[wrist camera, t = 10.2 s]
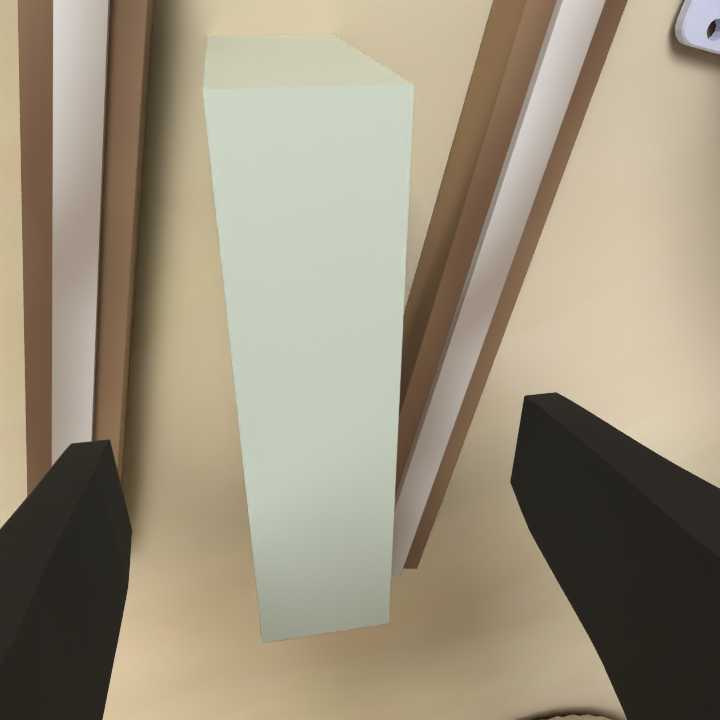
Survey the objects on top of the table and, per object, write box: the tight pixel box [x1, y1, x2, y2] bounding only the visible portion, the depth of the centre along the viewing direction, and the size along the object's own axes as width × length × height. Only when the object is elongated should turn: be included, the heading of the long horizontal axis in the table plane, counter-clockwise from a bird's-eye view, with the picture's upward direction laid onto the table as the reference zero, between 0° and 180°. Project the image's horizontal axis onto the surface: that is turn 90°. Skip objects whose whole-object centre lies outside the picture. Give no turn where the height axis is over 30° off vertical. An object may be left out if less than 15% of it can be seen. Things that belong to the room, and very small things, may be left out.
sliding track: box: [18, 0, 627, 575], centre depth 18 cm, size 13×20×2 cm, turn 166°
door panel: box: [203, 34, 414, 643], centre depth 16 cm, size 3×12×8 cm, turn 179°
